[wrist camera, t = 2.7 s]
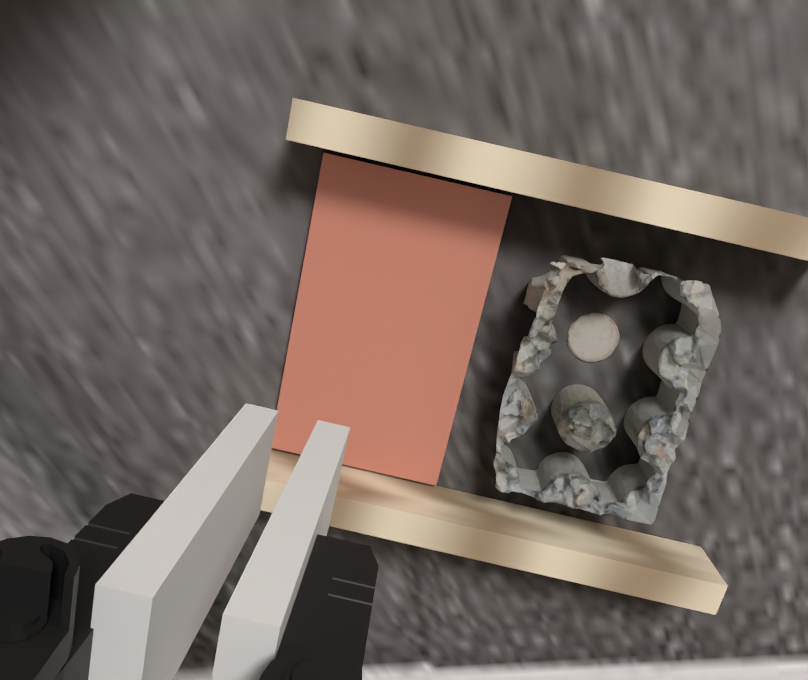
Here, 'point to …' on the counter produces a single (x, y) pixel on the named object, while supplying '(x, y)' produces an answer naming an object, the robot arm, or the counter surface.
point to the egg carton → (584, 409)
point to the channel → (494, 519)
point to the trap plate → (387, 313)
